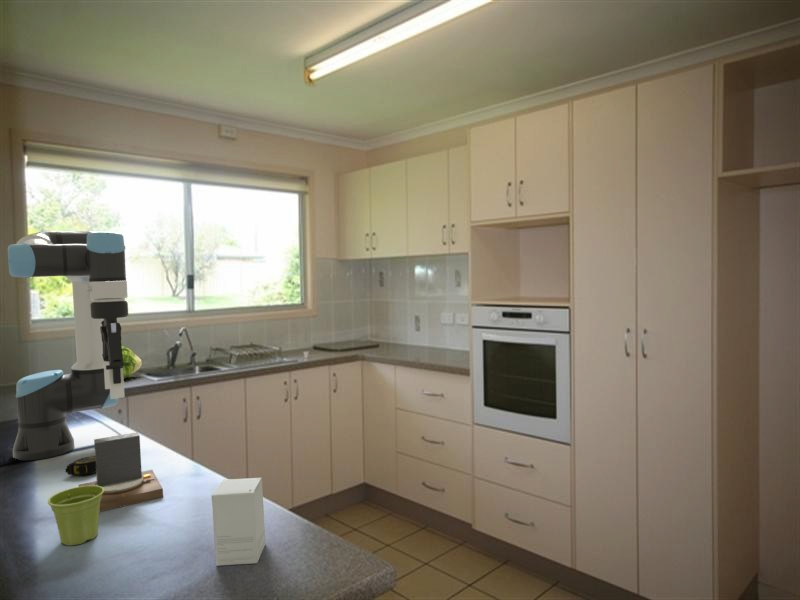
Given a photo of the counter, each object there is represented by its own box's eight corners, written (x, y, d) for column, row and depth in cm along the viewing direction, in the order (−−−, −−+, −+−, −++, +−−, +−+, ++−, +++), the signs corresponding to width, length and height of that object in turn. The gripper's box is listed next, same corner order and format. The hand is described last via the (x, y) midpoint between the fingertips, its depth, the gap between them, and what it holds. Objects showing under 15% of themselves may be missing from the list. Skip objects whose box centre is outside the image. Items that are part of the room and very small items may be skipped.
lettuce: (147, 379, 275) (148, 344, 278) (97, 381, 258) (98, 343, 261) (131, 381, 288) (132, 346, 291) (82, 382, 271) (84, 346, 273)
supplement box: (266, 543, 101) (263, 476, 101) (257, 564, 94) (254, 492, 93) (226, 545, 101) (223, 478, 100) (214, 566, 94) (210, 494, 93)
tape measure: (85, 468, 146) (84, 454, 145) (108, 469, 144) (107, 455, 144) (65, 478, 139) (64, 463, 139) (89, 478, 138) (88, 464, 137)
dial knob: (93, 483, 128) (90, 436, 127) (147, 472, 134) (144, 427, 133) (96, 497, 119) (93, 447, 119) (153, 485, 125) (151, 437, 125)
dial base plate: (78, 492, 128) (78, 483, 128) (152, 477, 137) (152, 468, 137) (82, 515, 116) (81, 505, 115) (163, 497, 124) (162, 487, 124)
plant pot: (42, 554, 100) (39, 508, 99) (60, 531, 109) (57, 488, 108) (99, 546, 102) (96, 500, 102) (111, 524, 111) (109, 482, 111)
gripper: (86, 300, 132) (92, 386, 133) (94, 302, 111) (100, 405, 112) (121, 298, 136) (126, 382, 137) (134, 300, 115) (140, 399, 116)
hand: (114, 393), depth 125 cm, fingers open, 13 cm apart
